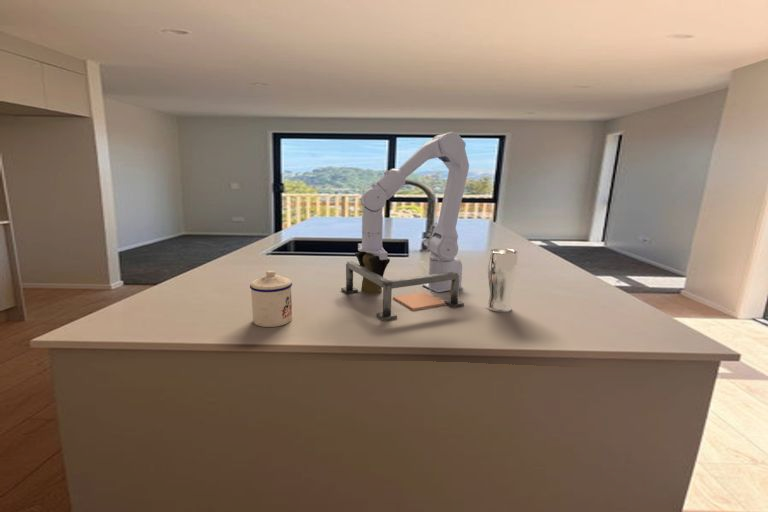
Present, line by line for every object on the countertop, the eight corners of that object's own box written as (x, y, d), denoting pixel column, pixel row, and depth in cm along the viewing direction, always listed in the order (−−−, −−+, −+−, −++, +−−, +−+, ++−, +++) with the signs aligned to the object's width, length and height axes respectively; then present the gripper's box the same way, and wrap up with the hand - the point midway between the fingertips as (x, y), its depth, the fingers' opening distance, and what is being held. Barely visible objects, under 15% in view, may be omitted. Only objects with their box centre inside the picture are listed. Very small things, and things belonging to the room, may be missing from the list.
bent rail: (410, 280, 124) (411, 253, 122) (463, 306, 102) (465, 273, 100) (341, 290, 113) (341, 260, 111) (383, 321, 91) (384, 284, 89)
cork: (379, 294, 110) (380, 256, 107) (358, 293, 111) (358, 255, 108) (383, 288, 115) (384, 251, 113) (363, 286, 117) (364, 250, 114)
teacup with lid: (291, 327, 86) (290, 276, 84) (248, 329, 85) (245, 277, 82) (295, 308, 98) (293, 263, 95) (257, 309, 96) (254, 263, 94)
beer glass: (498, 314, 96) (503, 255, 93) (479, 305, 102) (483, 249, 99) (519, 310, 99) (524, 252, 96) (499, 302, 105) (504, 247, 102)
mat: (423, 294, 111) (423, 291, 111) (445, 304, 103) (445, 302, 102) (393, 298, 106) (393, 296, 106) (412, 310, 98) (413, 308, 98)
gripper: (348, 229, 114) (348, 274, 117) (371, 237, 101) (370, 287, 104) (370, 228, 117) (369, 272, 120) (394, 235, 105) (393, 284, 108)
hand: (371, 279), depth 112 cm, fingers open, 7 cm apart
